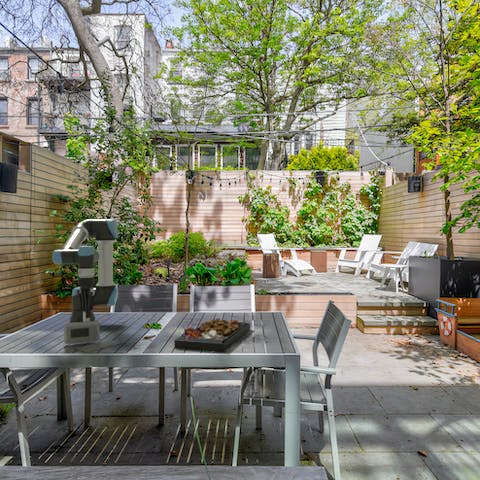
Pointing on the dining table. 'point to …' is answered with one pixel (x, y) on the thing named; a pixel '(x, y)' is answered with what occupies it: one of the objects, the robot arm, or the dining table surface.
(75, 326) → the digital clock
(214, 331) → the food platter
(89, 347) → the mat
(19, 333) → the dining table surface
